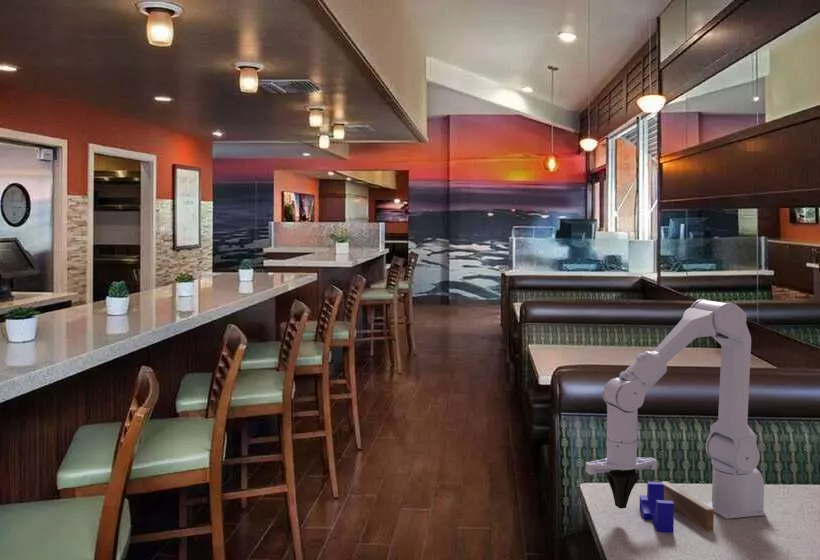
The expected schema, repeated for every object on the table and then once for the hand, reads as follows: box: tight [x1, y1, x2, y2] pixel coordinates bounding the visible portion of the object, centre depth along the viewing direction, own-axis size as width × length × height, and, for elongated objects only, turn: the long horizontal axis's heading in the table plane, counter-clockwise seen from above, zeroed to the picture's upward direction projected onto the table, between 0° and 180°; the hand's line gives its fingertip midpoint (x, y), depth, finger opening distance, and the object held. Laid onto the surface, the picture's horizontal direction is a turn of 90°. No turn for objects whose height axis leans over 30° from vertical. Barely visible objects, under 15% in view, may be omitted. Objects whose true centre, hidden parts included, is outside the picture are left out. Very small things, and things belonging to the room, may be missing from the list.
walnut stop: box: [662, 480, 715, 532], centre depth 146 cm, size 2×16×4 cm, turn 13°
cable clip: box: [639, 481, 675, 534], centre depth 144 cm, size 12×4×6 cm, turn 171°
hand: (620, 506), depth 143 cm, fingers closed
